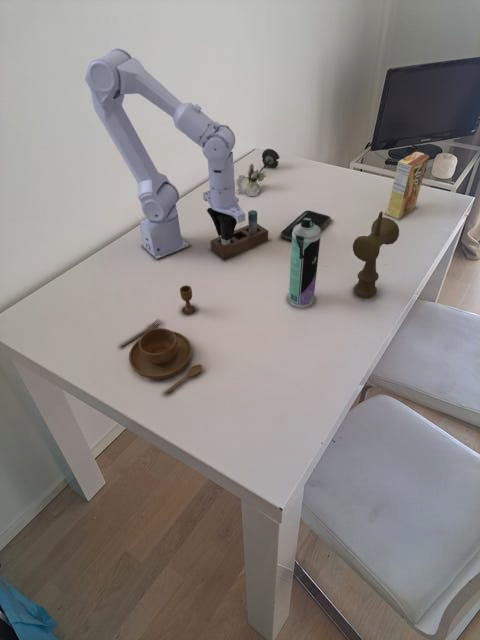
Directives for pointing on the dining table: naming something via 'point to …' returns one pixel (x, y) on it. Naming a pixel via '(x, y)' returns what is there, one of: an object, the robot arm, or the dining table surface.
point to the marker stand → (239, 242)
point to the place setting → (163, 349)
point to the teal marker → (252, 221)
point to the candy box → (407, 184)
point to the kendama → (373, 253)
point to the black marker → (223, 238)
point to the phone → (316, 219)
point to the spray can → (304, 263)
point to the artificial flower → (250, 182)
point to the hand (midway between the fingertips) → (225, 236)
